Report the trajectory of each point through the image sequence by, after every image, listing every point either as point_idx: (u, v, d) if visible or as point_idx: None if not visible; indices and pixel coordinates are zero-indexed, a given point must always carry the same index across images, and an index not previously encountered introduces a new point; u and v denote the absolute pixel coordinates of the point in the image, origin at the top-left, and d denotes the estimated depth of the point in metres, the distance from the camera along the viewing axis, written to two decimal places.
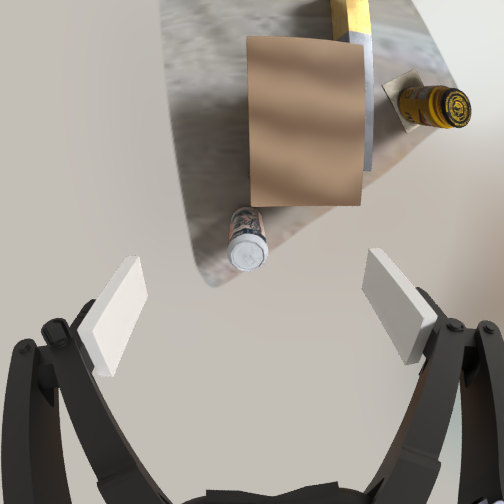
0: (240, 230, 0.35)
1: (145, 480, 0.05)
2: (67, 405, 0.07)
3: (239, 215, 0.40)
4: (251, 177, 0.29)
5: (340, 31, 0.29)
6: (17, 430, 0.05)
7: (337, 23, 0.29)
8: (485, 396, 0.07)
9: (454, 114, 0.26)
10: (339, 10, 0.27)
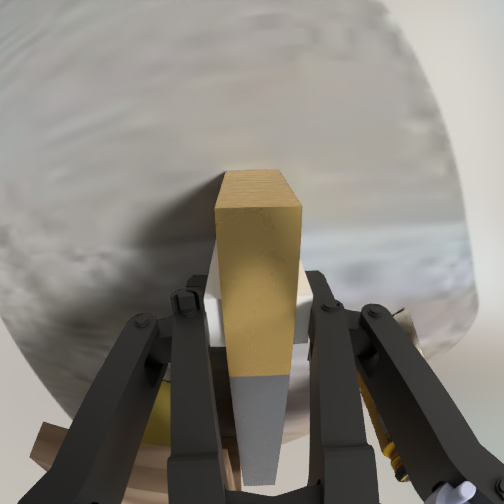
0: None
1: (219, 472, 0.05)
2: (172, 374, 0.08)
3: None
4: None
5: None
6: (101, 406, 0.07)
7: None
8: (397, 385, 0.08)
9: None
10: None
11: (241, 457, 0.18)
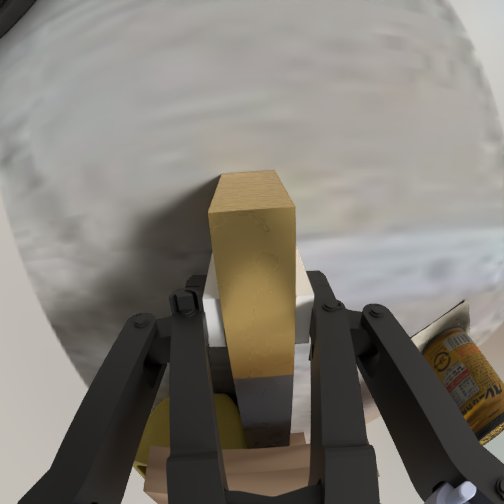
0: None
1: (218, 472, 0.05)
2: (171, 375, 0.08)
3: None
4: None
5: None
6: (100, 407, 0.07)
7: None
8: (398, 385, 0.08)
9: (483, 441, 0.15)
10: None
11: None
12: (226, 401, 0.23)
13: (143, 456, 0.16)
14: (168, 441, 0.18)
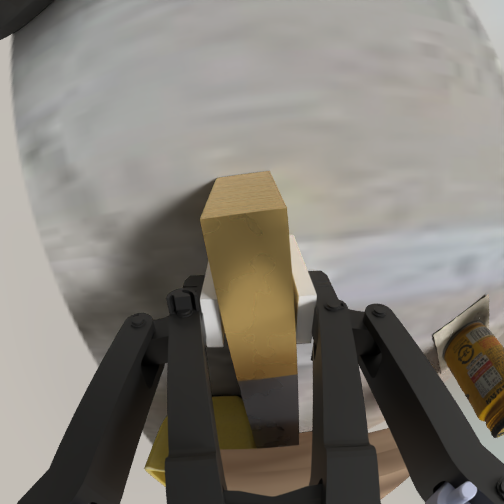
0: None
1: (217, 472, 0.05)
2: (169, 375, 0.08)
3: None
4: None
5: None
6: (98, 406, 0.07)
7: None
8: (400, 385, 0.08)
9: None
10: None
11: None
12: (237, 403, 0.23)
13: (156, 462, 0.17)
14: None
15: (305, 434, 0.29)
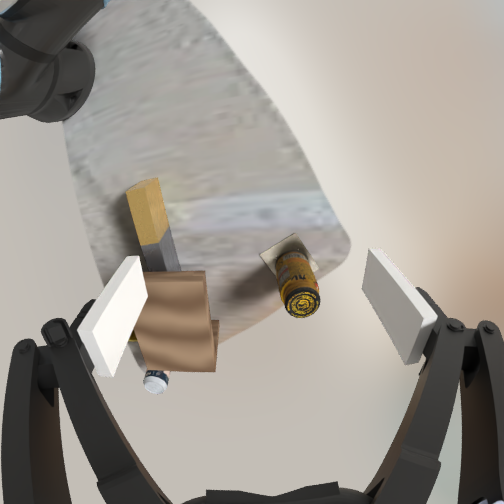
0: (150, 370, 0.51)
1: (145, 480, 0.05)
2: (67, 405, 0.07)
3: None
4: (144, 357, 0.45)
5: None
6: (17, 430, 0.05)
7: None
8: (485, 396, 0.07)
9: (297, 310, 0.42)
10: None
11: None
12: None
13: None
14: None
15: None
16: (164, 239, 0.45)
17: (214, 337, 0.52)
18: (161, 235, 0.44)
